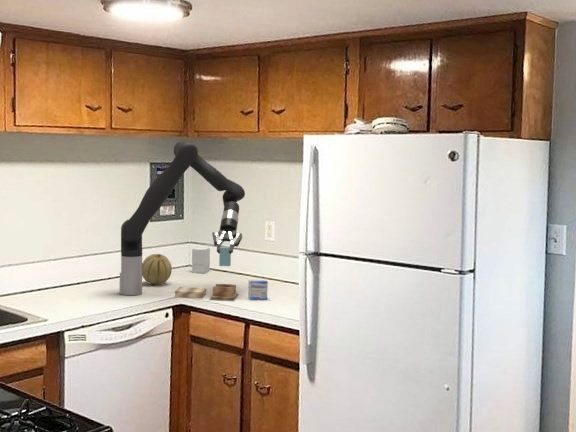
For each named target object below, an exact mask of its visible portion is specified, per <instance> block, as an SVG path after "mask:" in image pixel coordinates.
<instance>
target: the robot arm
mask: <svg viewBox="0 0 576 432" xmlns="http://www.w3.org/2000/svg"><path fill="white" fill-rule="evenodd" d="M198 153H199V151H198V147H197V146H196V145H195V144H193V143H192V142H190V141H187V140H181V141H178V142H177V143H175V145H174V147H173V155H174V156H175V157H174V158H173V160H172V161H171V163H170V164H169V166H168V167H167V168H166V169H164V170H163V171H162V172H160V173H159V175H157V176H156V177H155V179H154V180H153V181H152V182H151V184H150V185H149V187H148V188H147V190H146V191H145V193H144V194H143V197H142V199H141V201H140V203H139V205H138V207H137V209H136V210H135V211H134V213H133V214H132V216H131V217H130V218H129V219H126V220H125V221H123V223H122V224H121V227H120V257H121V258H120V265H121V266H120V272H119V295H123V296H138V295H142V294H143V276H142V263H143V233H144V232H145V230H146V228H147V226H148V224H149V222H150V221H151V220H152V218H153V217H154V215H155V214H156V213H157V211H159V210H160V208H161V207H162V206H163V204H164V203H165V202H166V200H167V199H168V197H169V196H170V194H171V193H172V191H173V190H174V189H175V187H176V185H177V184H178V183H179V181H180V180H181V178H182V176H183V175H184V174H185V172H186V171H187V170H189V168H192V169H193V170H194V171H195V172H197V173H198V174H199V175H200V176H201V177H202V178H203V179H204V180H205V181H206V182H208V183H209V184H210V185H211V186H212V188H214V189H215V190H216V191H218V192H223V191H224V192H223V194H222V202H223V212H222V215H221V220H220V225H219V231H218V232H215V231H213V232H211V233H212V234H211V235H212V239H213V244H214V246H215V247H216V252H217V254H219V255H220V247H222V245H223V244H224V242H230V244H229V247H230V249H229V254H233V252H234V248H235V247H239V245H240V243H241V241H242V239H243V234H242V233H241V232H240V233H237V230H238V224H239V214H240V213H239V212H240V205H239V203H238V202H240V201H241V200H242V199H244V197H245V195H246V191H245V189H244V188H243V186H241V185H240V184H238V183H237V182H235V181H233V180H231V179H229V178H227V177H226V176H225V175H224V174H222V172H220V171H219V170H218V169H217V168H215V166H212V165H211V164H210V163H209V162H208V161H206V160H205V159H204V158H203V157H201V156H200V154H198ZM218 237H219V239H218V241H217V238H218ZM235 238H236V239H235ZM234 239H235V241H234Z"/></svg>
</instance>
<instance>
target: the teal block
mask: <svg viewBox="0 0 576 432" xmlns="http://www.w3.org/2000/svg"><path fill="white" fill-rule="evenodd" d="M229 249H230V246H221V247H220V254H219V259H218V261H219V263H218V266H219V267H230V266H231V265H232V264H231V263H232V262H231V261H232V260H231V258H232V257H231V256H232V255H231V254H232V253H231V254H229Z"/></svg>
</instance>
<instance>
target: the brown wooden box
mask: <svg viewBox="0 0 576 432" xmlns="http://www.w3.org/2000/svg"><path fill="white" fill-rule="evenodd" d="M238 294H239V293H238V292H237V284H232V283H231V284H229V283H227V284H226V283H215V286H212V295H211V296H210V298H211V299H216V300H234V299H235V298H236V296H237V295H238ZM238 296H239V295H238ZM236 299H237V298H236ZM236 299H235V300H236Z"/></svg>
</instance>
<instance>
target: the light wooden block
mask: <svg viewBox="0 0 576 432" xmlns="http://www.w3.org/2000/svg"><path fill="white" fill-rule="evenodd" d="M207 290H208V288H207V287H191V286H189V287H188V286H179V288H177V289H176V290H175V291H174V294H175V295H174V298H175V299H177V298H179V299H180V298H183V299H203V298H205V296H206V295H207V293H208V292H207Z"/></svg>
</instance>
